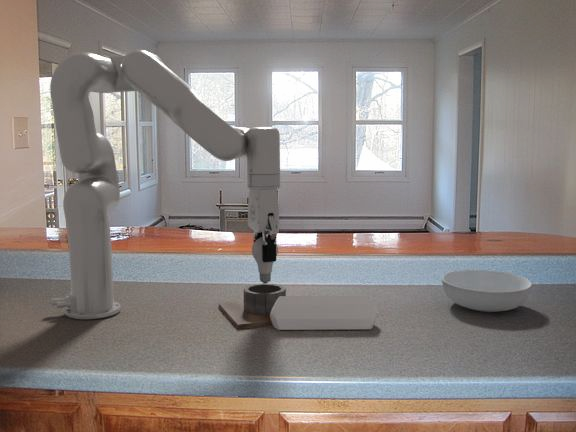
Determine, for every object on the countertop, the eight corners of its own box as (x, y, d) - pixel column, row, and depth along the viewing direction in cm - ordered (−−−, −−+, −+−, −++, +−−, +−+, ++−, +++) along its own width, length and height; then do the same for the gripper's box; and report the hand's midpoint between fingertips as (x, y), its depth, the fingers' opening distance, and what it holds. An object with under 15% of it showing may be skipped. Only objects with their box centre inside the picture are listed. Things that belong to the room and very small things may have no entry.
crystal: (374, 302, 150) (270, 303, 149) (378, 294, 143) (269, 295, 143) (376, 335, 147) (270, 335, 147) (380, 328, 140) (269, 329, 140)
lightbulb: (275, 287, 149) (274, 240, 147) (249, 286, 150) (248, 239, 148) (280, 280, 155) (280, 235, 153) (255, 279, 156) (255, 234, 154)
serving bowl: (434, 314, 153) (435, 285, 152) (447, 292, 172) (448, 266, 171) (529, 324, 145) (530, 294, 144) (531, 300, 164) (533, 273, 163)
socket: (238, 329, 142) (237, 302, 141) (218, 307, 159) (218, 283, 158) (314, 320, 148) (314, 294, 147) (288, 300, 165) (288, 276, 164)
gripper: (238, 179, 156) (239, 253, 158) (259, 185, 140) (260, 267, 142) (267, 177, 158) (268, 250, 161) (292, 184, 142) (292, 265, 145)
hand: (264, 258), depth 151 cm, fingers closed on lightbulb, 6 cm apart
